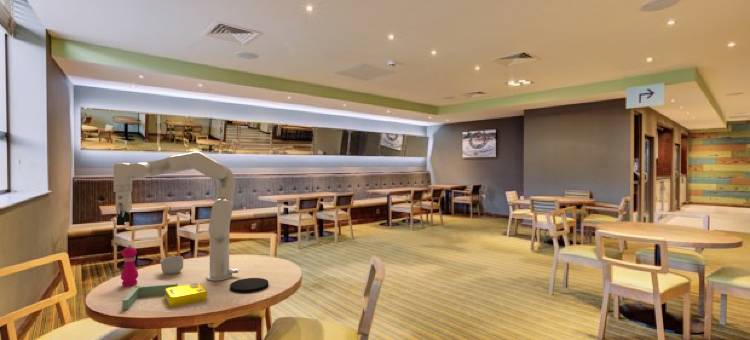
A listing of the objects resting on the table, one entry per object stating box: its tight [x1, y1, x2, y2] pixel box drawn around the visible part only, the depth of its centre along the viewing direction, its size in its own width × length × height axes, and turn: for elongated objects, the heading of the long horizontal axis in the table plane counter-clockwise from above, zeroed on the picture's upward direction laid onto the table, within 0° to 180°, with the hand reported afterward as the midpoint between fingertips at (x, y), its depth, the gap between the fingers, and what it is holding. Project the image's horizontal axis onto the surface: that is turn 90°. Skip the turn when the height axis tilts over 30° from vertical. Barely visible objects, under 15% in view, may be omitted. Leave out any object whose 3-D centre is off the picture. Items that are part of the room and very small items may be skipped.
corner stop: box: [121, 282, 179, 311], centre depth 166 cm, size 17×18×4 cm
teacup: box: [159, 255, 184, 276], centre depth 207 cm, size 14×11×8 cm
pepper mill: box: [120, 244, 139, 288], centre depth 186 cm, size 7×7×20 cm
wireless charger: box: [229, 277, 269, 294], centre depth 185 cm, size 18×18×2 cm
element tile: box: [164, 282, 208, 307], centre depth 168 cm, size 15×15×5 cm
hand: (123, 223), depth 184 cm, fingers open, 9 cm apart
